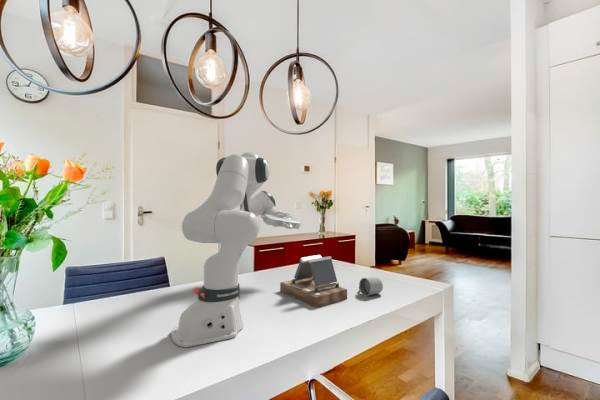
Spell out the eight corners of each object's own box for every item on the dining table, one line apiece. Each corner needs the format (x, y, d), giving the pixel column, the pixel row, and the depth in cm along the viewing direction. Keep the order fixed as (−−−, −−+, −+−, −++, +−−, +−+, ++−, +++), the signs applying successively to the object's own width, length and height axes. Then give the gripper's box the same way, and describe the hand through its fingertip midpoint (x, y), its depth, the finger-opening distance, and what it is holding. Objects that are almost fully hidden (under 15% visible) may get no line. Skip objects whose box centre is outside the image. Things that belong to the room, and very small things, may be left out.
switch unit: (316, 307, 118) (316, 292, 118) (280, 291, 139) (280, 278, 139) (347, 298, 128) (347, 284, 128) (309, 284, 149) (309, 272, 149)
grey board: (296, 280, 136) (303, 260, 132) (293, 277, 138) (301, 257, 133) (314, 276, 143) (322, 257, 138) (312, 273, 144) (319, 254, 140)
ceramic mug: (384, 294, 133) (384, 277, 133) (370, 298, 129) (370, 280, 129) (367, 289, 142) (367, 272, 142) (354, 291, 138) (353, 275, 138)
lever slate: (318, 285, 124) (311, 259, 127) (315, 286, 126) (308, 260, 129) (337, 281, 131) (330, 256, 134) (334, 282, 132) (327, 257, 136)
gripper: (261, 209, 153) (273, 218, 142) (293, 215, 165) (307, 223, 154) (257, 221, 154) (270, 231, 143) (289, 225, 166) (303, 235, 155)
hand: (289, 227), depth 149 cm, fingers closed
